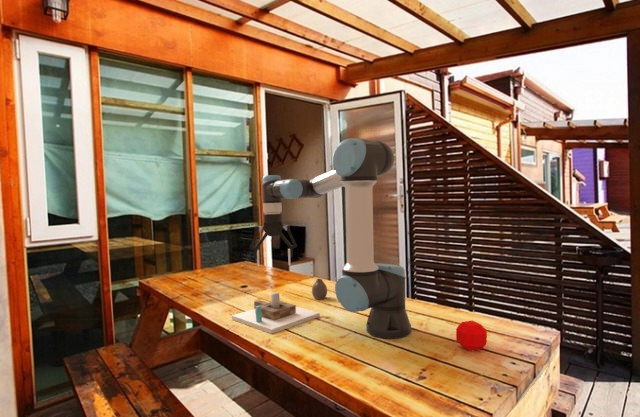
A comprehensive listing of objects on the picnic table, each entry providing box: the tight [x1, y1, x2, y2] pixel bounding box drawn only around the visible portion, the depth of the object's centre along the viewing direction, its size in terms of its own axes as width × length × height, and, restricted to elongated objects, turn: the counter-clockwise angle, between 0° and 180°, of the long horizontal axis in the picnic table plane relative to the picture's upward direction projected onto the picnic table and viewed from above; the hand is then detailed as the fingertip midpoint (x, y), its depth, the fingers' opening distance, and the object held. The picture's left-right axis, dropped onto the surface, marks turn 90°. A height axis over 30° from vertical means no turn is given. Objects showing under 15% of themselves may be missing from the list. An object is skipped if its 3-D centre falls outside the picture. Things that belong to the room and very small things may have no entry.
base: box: [231, 292, 321, 334], centre depth 152 cm, size 24×24×10 cm
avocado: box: [311, 278, 328, 300], centre depth 179 cm, size 7×7×9 cm
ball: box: [455, 320, 488, 352], centre depth 120 cm, size 8×8×8 cm
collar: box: [253, 299, 297, 320], centre depth 155 cm, size 18×11×3 cm, turn 46°
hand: (274, 265), depth 162 cm, fingers open, 12 cm apart
